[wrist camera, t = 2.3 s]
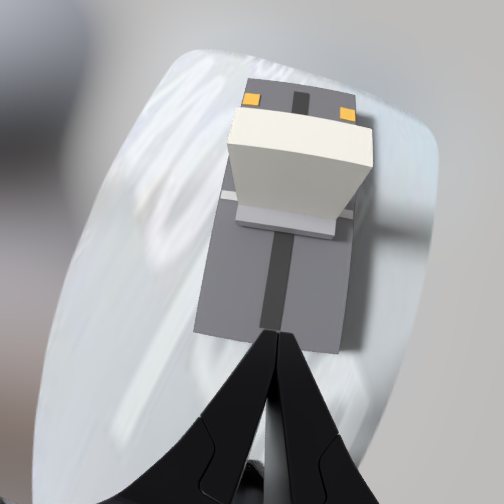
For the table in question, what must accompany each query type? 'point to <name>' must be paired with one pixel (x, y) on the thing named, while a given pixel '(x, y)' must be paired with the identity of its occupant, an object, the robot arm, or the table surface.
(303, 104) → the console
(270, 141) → the fader
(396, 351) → the table surface
